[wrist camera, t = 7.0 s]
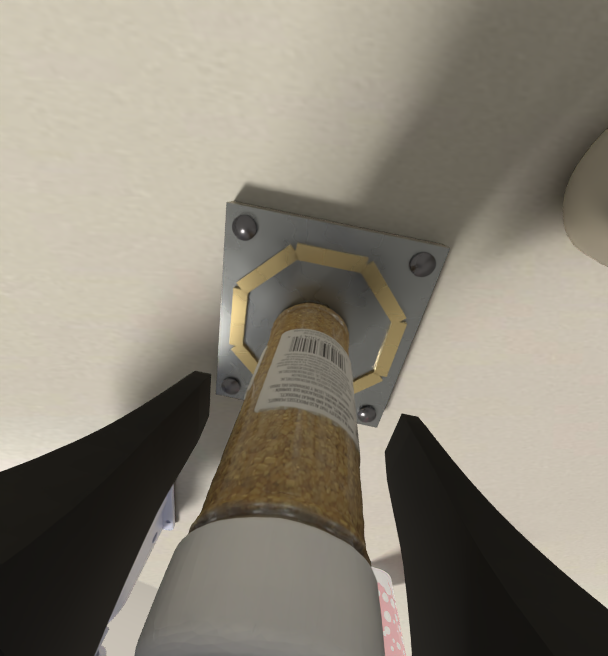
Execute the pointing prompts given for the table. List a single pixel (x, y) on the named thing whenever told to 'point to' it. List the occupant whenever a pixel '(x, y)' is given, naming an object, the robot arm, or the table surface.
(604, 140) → the plastic bottle
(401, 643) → the beverage cup
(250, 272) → the octagon fixture plate
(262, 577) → the sprinkles bottle
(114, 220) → the table surface
